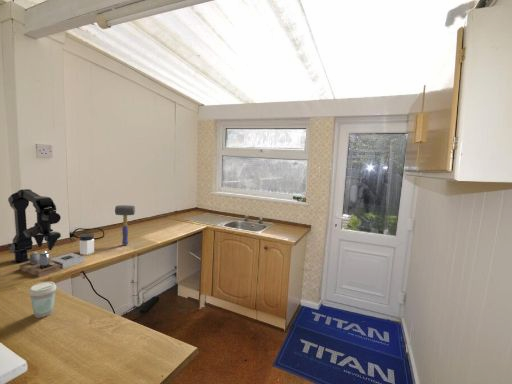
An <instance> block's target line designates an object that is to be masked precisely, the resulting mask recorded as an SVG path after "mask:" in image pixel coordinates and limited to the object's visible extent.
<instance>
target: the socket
mask: <svg viewBox="0 0 512 384" xmlns="http://www.w3.org/2000/svg"><path fill="white" fill-rule="evenodd" d="M49 262H53V263H56V264H59V265H60V269H65V268H68V267H71V266H74V265H76V264H77V265H78V264H81V263H83V262H85V255H84V256H83V255H81V254H77V253H73V252H70V253H65V254H61V255H59V256H56V257H52V258H49Z"/></svg>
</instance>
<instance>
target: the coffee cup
mask: <svg viewBox="0 0 512 384" xmlns="http://www.w3.org/2000/svg"><path fill="white" fill-rule="evenodd" d="M56 290H57V285H56V283H55V282H54V281H42V282H39V283H36V284H34V285H32V286H31V287H30V289H29V292H28V295H29V296H30V300H31V304H32V305H31V306H32V310H33V315H34V318H36V319H40V318H41V317H42V318H45V316H46V317H49V316H51V314H53V312H54V307H55V306H54V305H55V299H56V298H55V297H56Z"/></svg>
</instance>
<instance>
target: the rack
mask: <svg viewBox="0 0 512 384" xmlns="http://www.w3.org/2000/svg"><path fill="white" fill-rule="evenodd" d="M29 258H30V260H29V261H25V262H22V263H18V264H19V265H18V268H19V271H22V272H25V273H27V274H30V275H33V276H35V277H37V278H41V277H44V276H47V275H49V273H50V274H53V273H56V272H59V271H61V268H60V265H59V264H56V263H53V262H50V261H49V265H50V267H48V268H45V269H40V253H39V252H38V251H33V252H31V254H29ZM52 272H53V273H52ZM46 274H47V275H46Z"/></svg>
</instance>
